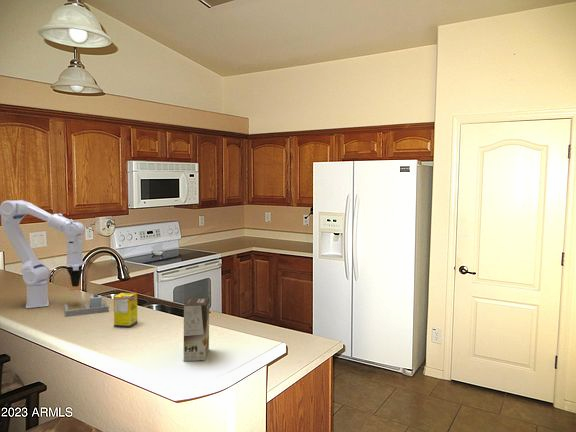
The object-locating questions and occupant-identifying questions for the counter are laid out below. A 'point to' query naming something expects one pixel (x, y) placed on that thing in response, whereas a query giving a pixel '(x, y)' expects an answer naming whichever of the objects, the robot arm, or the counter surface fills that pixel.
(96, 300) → the seated plug
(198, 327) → the coffee box
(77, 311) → the e-shaped shelf rack
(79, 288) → the orange plug
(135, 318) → the supplement box
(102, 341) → the counter surface
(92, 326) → the counter surface
